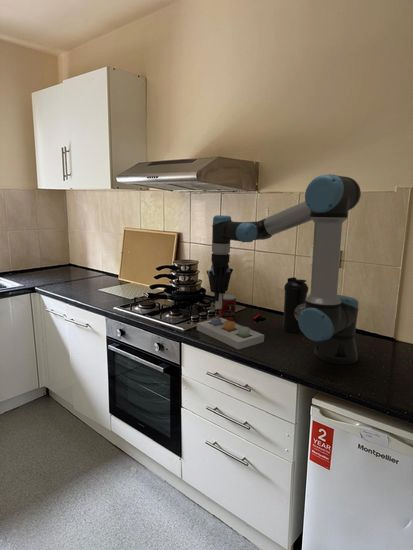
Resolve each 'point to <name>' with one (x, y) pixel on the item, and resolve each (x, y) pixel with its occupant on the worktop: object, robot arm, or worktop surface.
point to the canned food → (228, 307)
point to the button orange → (229, 326)
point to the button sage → (244, 332)
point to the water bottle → (294, 303)
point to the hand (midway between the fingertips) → (218, 308)
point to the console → (230, 334)
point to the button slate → (216, 321)
